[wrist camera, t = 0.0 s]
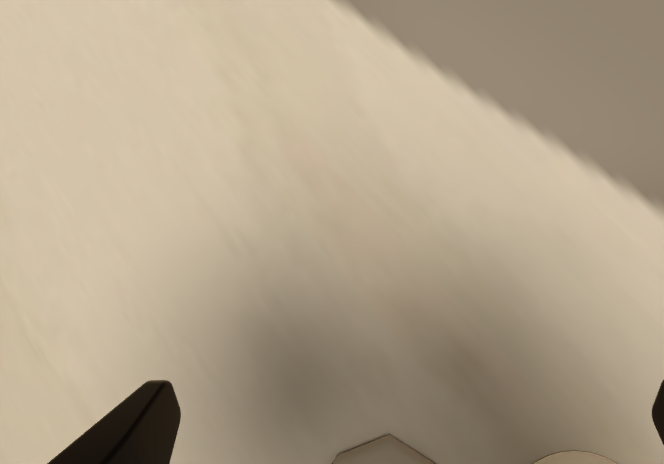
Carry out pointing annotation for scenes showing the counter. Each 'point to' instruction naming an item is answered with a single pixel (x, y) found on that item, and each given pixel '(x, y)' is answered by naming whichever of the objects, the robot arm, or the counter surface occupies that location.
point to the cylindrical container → (575, 458)
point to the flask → (382, 453)
